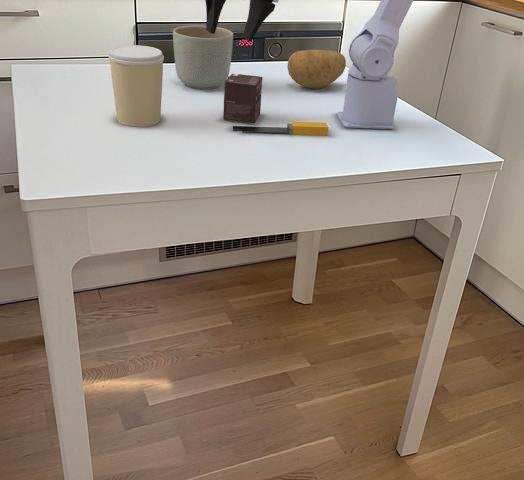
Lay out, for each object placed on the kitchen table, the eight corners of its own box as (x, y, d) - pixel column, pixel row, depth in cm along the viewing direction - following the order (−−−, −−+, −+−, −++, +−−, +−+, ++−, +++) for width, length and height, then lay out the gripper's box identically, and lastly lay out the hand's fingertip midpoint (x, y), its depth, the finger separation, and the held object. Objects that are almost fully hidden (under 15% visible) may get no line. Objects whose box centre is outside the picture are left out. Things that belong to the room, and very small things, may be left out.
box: (254, 125, 118) (256, 84, 114) (222, 120, 119) (223, 80, 115) (260, 115, 123) (263, 76, 119) (230, 111, 124) (231, 72, 120)
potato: (353, 90, 142) (359, 53, 138) (299, 95, 136) (303, 57, 132) (329, 78, 149) (333, 43, 145) (276, 83, 143) (279, 45, 139)
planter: (204, 74, 145) (205, 23, 139) (243, 87, 138) (245, 34, 132) (161, 82, 137) (160, 28, 132) (199, 96, 131) (200, 41, 125)
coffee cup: (174, 117, 119) (174, 50, 112) (146, 132, 111) (143, 60, 105) (132, 108, 122) (129, 42, 115) (101, 121, 114) (96, 51, 108)
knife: (325, 130, 118) (326, 122, 117) (327, 135, 116) (328, 127, 115) (232, 127, 116) (232, 119, 115) (233, 132, 114) (233, 124, 113)
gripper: (275, -43, 113) (252, 35, 120) (202, -64, 105) (183, 20, 112) (295, -33, 108) (271, 48, 115) (221, -55, 100) (199, 33, 107)
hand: (229, 35), depth 113 cm, fingers open, 7 cm apart
